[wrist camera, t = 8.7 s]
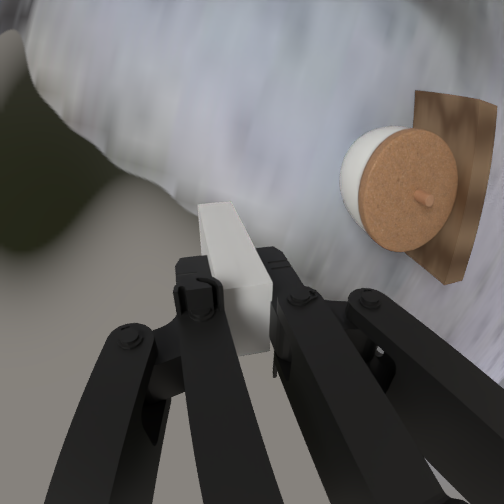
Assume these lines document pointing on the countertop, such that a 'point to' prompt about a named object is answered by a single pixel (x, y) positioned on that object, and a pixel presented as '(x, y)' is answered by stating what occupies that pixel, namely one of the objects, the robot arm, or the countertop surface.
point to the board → (469, 176)
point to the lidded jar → (399, 185)
